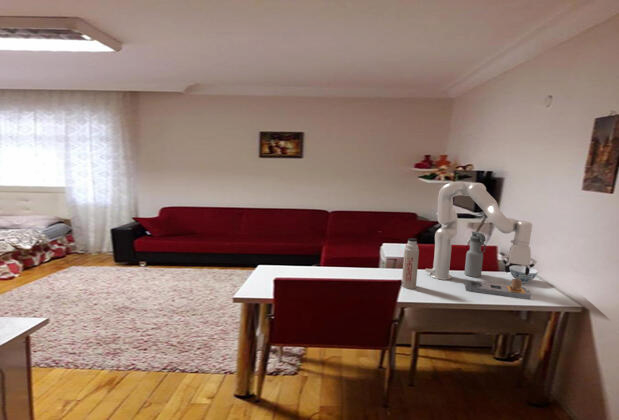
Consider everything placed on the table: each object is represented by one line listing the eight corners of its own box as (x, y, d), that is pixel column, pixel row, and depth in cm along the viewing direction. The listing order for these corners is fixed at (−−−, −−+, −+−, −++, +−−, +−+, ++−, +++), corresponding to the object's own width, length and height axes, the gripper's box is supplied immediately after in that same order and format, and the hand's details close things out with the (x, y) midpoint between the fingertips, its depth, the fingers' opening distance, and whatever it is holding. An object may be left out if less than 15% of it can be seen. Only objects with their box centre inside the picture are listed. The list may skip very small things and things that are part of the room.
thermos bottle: (411, 290, 202) (415, 241, 198) (399, 286, 208) (402, 238, 203) (418, 286, 208) (422, 239, 204) (405, 283, 213) (409, 236, 209)
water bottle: (484, 276, 230) (489, 233, 226) (474, 278, 226) (478, 234, 221) (471, 271, 239) (475, 230, 235) (460, 273, 235) (465, 231, 230)
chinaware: (534, 287, 214) (536, 274, 212) (506, 281, 222) (507, 269, 221) (537, 281, 225) (539, 269, 224) (510, 275, 234) (511, 264, 233)
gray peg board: (465, 290, 204) (466, 286, 204) (464, 283, 216) (464, 279, 215) (530, 299, 195) (530, 294, 194) (524, 291, 206) (525, 287, 206)
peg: (511, 294, 201) (513, 280, 200) (510, 292, 205) (512, 278, 203) (519, 295, 200) (521, 281, 198) (518, 293, 203) (520, 279, 202)
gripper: (505, 243, 197) (500, 273, 200) (541, 247, 192) (535, 278, 195) (502, 239, 204) (497, 269, 207) (537, 244, 199) (532, 273, 202)
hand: (516, 273), depth 201 cm, fingers open, 9 cm apart
